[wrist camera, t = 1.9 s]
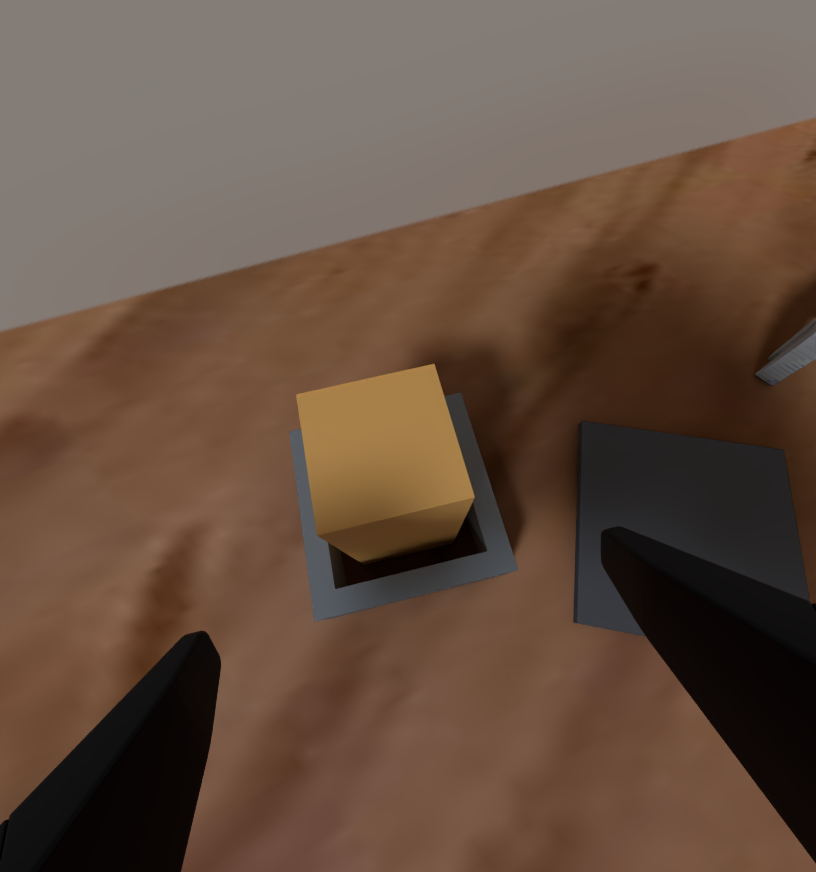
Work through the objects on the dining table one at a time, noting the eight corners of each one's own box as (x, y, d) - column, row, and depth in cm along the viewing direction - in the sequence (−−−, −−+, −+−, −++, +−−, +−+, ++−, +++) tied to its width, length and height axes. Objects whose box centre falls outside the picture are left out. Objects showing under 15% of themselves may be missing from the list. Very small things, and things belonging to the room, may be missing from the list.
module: (453, 542, 20) (474, 497, 11) (364, 564, 20) (316, 535, 11) (430, 459, 22) (434, 363, 13) (348, 478, 22) (296, 394, 13)
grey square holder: (505, 574, 20) (518, 569, 17) (330, 618, 19) (314, 621, 16) (456, 418, 23) (460, 392, 20) (306, 452, 22) (289, 431, 20)
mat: (811, 668, 18) (821, 670, 17) (573, 622, 19) (577, 622, 18) (776, 453, 21) (784, 449, 21) (579, 424, 22) (582, 420, 22)
